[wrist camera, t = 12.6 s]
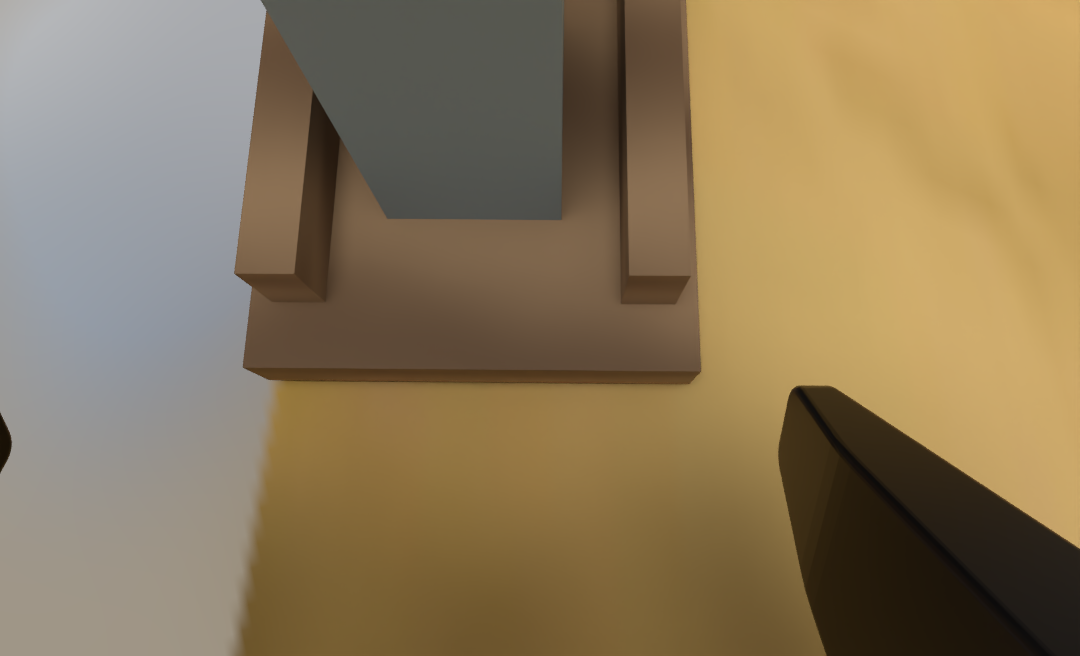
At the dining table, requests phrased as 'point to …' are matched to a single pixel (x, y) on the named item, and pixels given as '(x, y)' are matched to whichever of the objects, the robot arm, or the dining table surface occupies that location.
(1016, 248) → the dining table surface
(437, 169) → the grey rectangular block
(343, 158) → the stand
